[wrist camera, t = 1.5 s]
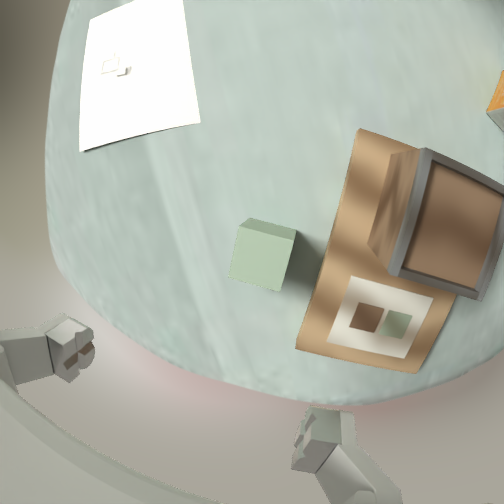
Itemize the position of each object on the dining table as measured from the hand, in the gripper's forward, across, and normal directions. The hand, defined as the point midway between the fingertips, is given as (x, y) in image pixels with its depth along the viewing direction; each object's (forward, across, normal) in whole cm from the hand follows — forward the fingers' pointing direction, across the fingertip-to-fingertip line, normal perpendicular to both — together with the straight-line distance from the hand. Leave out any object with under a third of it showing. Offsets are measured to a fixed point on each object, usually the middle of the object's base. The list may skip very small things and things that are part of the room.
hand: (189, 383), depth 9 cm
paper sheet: (+23, +16, -20) cm, 34 cm away
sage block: (+23, 0, 0) cm, 23 cm away
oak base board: (+23, -14, -2) cm, 27 cm away
